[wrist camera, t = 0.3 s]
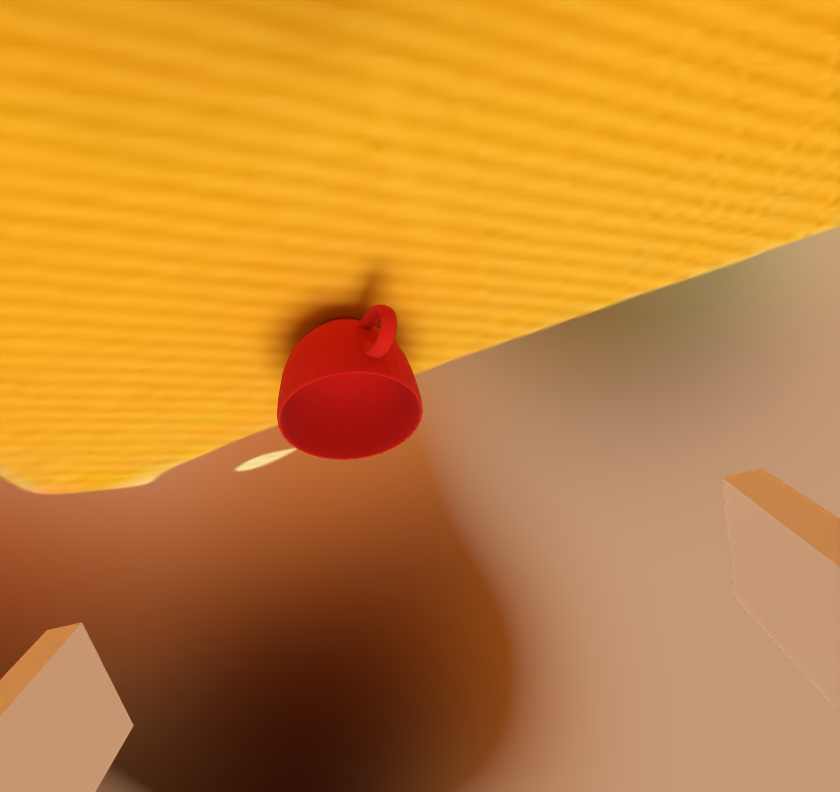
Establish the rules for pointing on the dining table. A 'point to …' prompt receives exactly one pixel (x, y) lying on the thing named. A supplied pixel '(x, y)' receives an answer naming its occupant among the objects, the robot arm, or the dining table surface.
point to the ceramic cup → (349, 389)
